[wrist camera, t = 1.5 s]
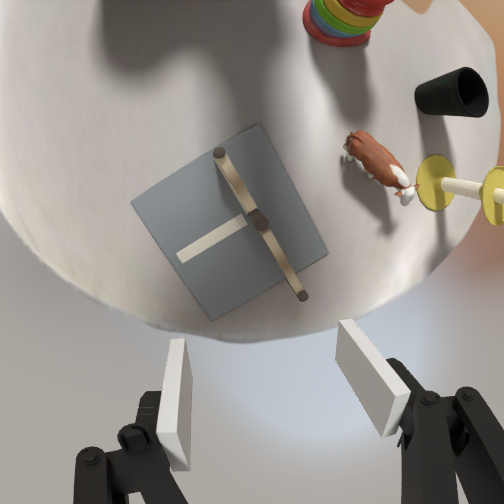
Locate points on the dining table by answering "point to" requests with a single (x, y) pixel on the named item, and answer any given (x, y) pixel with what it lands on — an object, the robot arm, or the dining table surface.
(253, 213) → the fence fixed
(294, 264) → the card
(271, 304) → the dining table surface
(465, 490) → the robot arm
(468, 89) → the cup
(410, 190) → the bull figurine
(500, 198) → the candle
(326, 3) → the stacking bear
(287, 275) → the fence hinged
